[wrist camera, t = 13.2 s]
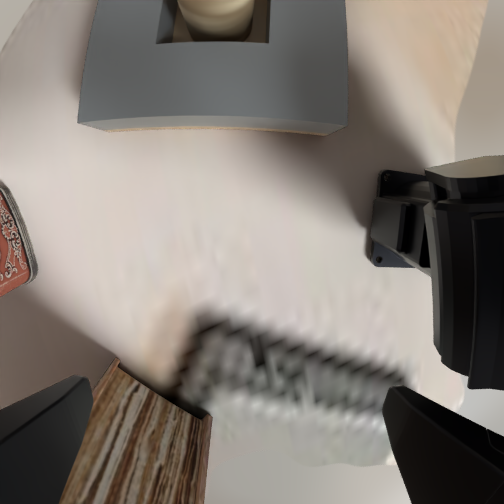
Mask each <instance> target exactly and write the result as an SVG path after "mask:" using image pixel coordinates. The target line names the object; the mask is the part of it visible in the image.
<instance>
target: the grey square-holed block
mask: <svg viewBox="0 0 504 504" xmlns="http://www.w3.org/2000/svg"><path fill="white" fill-rule="evenodd" d="M77 123H79V124H82V125H86V126H90V127H93V128H97V129H100V130H104V131H107V132H117V131H132V130H154V129H238V130H260V131H276V132H289V133H301V134H311V135H321V136H326V135H329V134H331V133H333V132H335V131H337V130H340V129H342V128H344V127H346V126H348V47H347V23H346V7H345V0H254V12H253V24H252V30H251V33H250V35H249V36H248V38H247V39H246V40H245V41H244V42H194V41H193V40H192V38H191V36H190V34H189V31H188V28H187V26H186V23H185V20H184V17H183V15H182V12H181V9H180V7H179V4H178V1H177V0H98V4H97V8H96V12H95V16H94V20H93V24H92V29H91V33H90V38H89V43H88V48H87V53H86V59H85V65H84V71H83V78H82V85H81V93H80V101H79V111H78V121H77Z"/></svg>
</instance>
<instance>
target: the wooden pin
mask: <svg viewBox="0 0 504 504" xmlns="http://www.w3.org/2000/svg"><path fill="white" fill-rule="evenodd" d="M177 1H178V4H179V7H180V9H181V12H182V15H183V17H184V20H185V23H186V26H187V28H188V31H189V34H190V36H191V38H192V40H193V41H194V42H244V41H245V40H246V39H247V38H248V36H249V35H250V33H251V30H252V24H253V12H254V0H177Z"/></svg>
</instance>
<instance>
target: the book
mask: <svg viewBox="0 0 504 504" xmlns="http://www.w3.org/2000/svg"><path fill="white" fill-rule="evenodd" d="M119 363H120V360H118V359H117V358H115V359H114V361H113V362H112V363H111V365H110V366H109V368H108V369H107V370H106V372H105V373H104V375H103V376H102V378H101V379H100V381H99V382H98V383H97V385H96V386H95V388H94V389H93V391H92V395H93V400H94V403H93V407H92V411H91V414H90V417H89V421H88V424H87V428H86V431H85V435H84V438H83V442H82V445H81V447H80V450H79V452H78V455H77V457H76V460H75V462H74V465H73V467H72V470H71V472H70V475H69V478H68V480H67V483H66V486H65V488H64V491H63V494H62V496H61V499H60V502H59V504H204V498H205V487H206V477H207V466H208V456H209V447H210V437H211V427H212V418H213V417H211V416H209V415H208V414H207V415H206V416H205V417H204V418H203V419H202V420H200V419H198V418H196V417H194V416H192V415H191V414H189V413H187V412H186V411H184V410H182V409H181V408H179V407H177V406H176V405H174V404H172V403H171V402H169V401H167V400H166V399H164V398H163V397H161V396H159V395H158V394H156V393H155V392H153V391H152V390H150V389H149V388H147V387H146V386H144V385H143V384H141V383H140V382H138V381H137V380H135V379H134V378H132V377H131V376H130V375H128V374H127V373H125V372H124V371H122V370H121V369H120V368H118V367H117V366H118V364H119Z"/></svg>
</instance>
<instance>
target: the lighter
mask: <svg viewBox="0 0 504 504" xmlns="http://www.w3.org/2000/svg"><path fill="white" fill-rule="evenodd" d="M37 273H38V265H37V261H36V257H35V254H34V250H33V246H32V243H31V240H30V237H29V234H28V231H27V228H26V225H25V222H24V220H23V218H22V215H21V213H20V210H19V208H18V206H17V204H16V202H15V200H14V198H13V196H12V194H11V192H10V190H9V189H8V188H7V187H5V186H1V187H0V297H1V296H3V295H5V294H6V293H8V292H10V291H11V290H13V289H15V288H16V287H18V286H20V285H25V284H27V283H29V282H31V281H32V280H34V279H35V278H36V276H37Z"/></svg>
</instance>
